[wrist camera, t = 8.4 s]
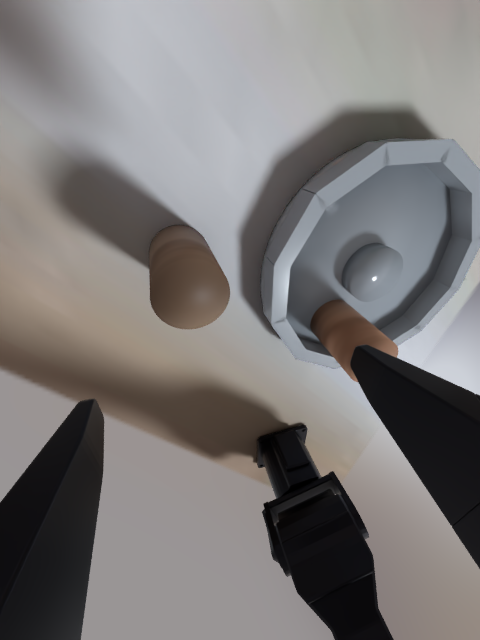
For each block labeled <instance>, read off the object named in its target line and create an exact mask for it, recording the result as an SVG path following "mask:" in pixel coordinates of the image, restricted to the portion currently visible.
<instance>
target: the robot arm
mask: <svg viewBox="0 0 480 640" xmlns="http://www.w3.org/2000/svg"><path fill="white" fill-rule="evenodd" d="M350 366H351V369H352V371H353V373H354V375H355V377H356V378H357V380H358V382H359V384H360V386H361V388H362V390H363V392H364V393H365V395H366V397H367V399H368V401H369V402H370V404H371V406H372V407H373V409H374V410H375V412H376V413H377V415H378V416H379V418H380V419H381V421H382V422H383V424H384V425H385V427H386V428H387V430H388V431H389V433H390V434H391V436H392V437H393V439H394V440H395V442H396V443H397V445H398V446H399V448H400V449H401V451H402V452H403V454H404V455H405V457H406V458H407V460H408V461H409V463H410V464H411V466H412V467H413V469H414V470H415V472H416V473H417V475H418V476H419V478H420V479H421V481H422V483H423V484H424V486H425V487H426V489H427V490H428V492H429V493H430V494H431V496H432V498H433V499H434V500H435V502H436V503H437V505H438V507H439V508H440V509H441V511H442V513H443V514H444V516H445V517H446V518H447V520H448V522H449V523H450V525H452V528H453V529H454V531H455V532H456V534H457V535H458V537H459V538H460V540H461V541H462V543H463V544H464V545H465V547H466V549H467V550H468V552H469V553H470V555H471V556H472V558H473V559H474V561H475V562H476V564H477V565H478V567H479V568H480V395H477V394H474V393H473V392H471V391H468V390H466V389H464V388H462V387H460V386H457V385H455V384H453V383H451V382H449V381H446V380H444V379H442V378H440V377H437V376H435V375H433V374H431V373H429V372H426V371H424V370H422V369H420V368H418V367H416V366H413V365H411V364H409V363H407V362H405V361H402V360H400V359H398V358H396V357H394V356H391V355H389V354H387V353H385V352H383V351H380V350H378V349H376V348H374V347H372V346H369V345H366V344H364V345H359V346H356V347H355V349H354V351H353V354H352V357H351V360H350ZM306 434H307V427H306V425H302V426H298V427H295V428H291V429H288V430H284V431H280V432H277V433H273V434H270V435H266V436H262V437H260V438H258V440H257V465H258V468H262V467H265V468H266V471H267V474H268V476H269V479H270V482H271V485H272V488H273V491H274V493H275V496H276V499H275V500H273V501H270V502H266V503H264V508H265V509H264V510H263V511H262V513H263V517H264V520H265V523H266V527H267V531H268V536H269V542H270V548H271V554H272V557H273V560H275V561H276V562H278V563H279V564H280V566H281V568H282V569H283V571H284V573H285V575H286V576H287V577H288V576H290V575H291V576H292V579H293V582H294V585H295V588H296V590H297V592H298V594H299V595H300V596H301V597H302V599H303V600H304V601H305V602H306V603H307V604H308V605H309V606H310V607H311V609H312V610H313V611H314V612H315V613H316V614H317V615H318V616H319V618H320V619H321V620H322V621H323V622H324V623H325V624H326V625H327V626H328V628H329V629H330V630H331V631H332V633H333V636H334V639H335V640H393V638H392V636H391V634H390V632H389V630H388V627H387V626H386V624H385V621H384V619H383V618H382V615H381V613H380V611H379V609H378V602H377V592H376V581H375V571H374V560H373V555H372V553H371V551H370V549H369V547H368V545H367V543H366V541H365V539H367V538H368V537H369V534H368V532H367V529H366V527H365V525H364V523H363V521H362V519H361V517H360V515H359V513H358V512H357V510H356V508H355V506H354V505H353V503H352V501H351V500H350V498H349V496H348V495H347V493H346V491H345V490H344V488H343V486H342V485H341V483H340V481H339V480H338V478H337V477H336V475H335V473H334V472H333V471H332V472H330V473H329V474H328V475H326V476H323V477H321V475H320V473H319V471H318V469H317V467H316V465H315V464H314V462H313V460H312V458H311V456H310V454H309V452H308V450H307V448H306V446H305V440H306ZM103 458H104V417H103V414H102V412H101V409H100V407H99V405H98V403H97V401H96V400H95V399H88V400H83V401H80V402H79V403H78V404H77V405H76V406H75V408H74V409H73V410H72V411H71V413H70V414H69V415H68V417H67V418H66V419H65V421H64V422H63V423H62V424H61V426H60V427H59V428H58V429H57V431H56V432H55V433H54V434H53V436H52V437H51V438H50V440H49V441H48V442H47V443H46V445H45V446H44V447H43V449H42V450H41V451H40V453H39V454H38V455H37V456H36V458H35V459H34V460H33V462H32V463H31V464H30V465H29V466H28V468H27V469H26V470H25V472H24V473H23V474H22V476H21V477H20V478H19V479H18V481H17V482H16V483H15V485H14V486H13V487H12V489H11V490H10V491H9V492H8V493H7V495H6V496H5V497H4V498H3V500H2V501H1V502H0V640H81V633H82V625H83V618H84V610H85V603H86V596H87V588H88V581H89V574H90V566H91V559H92V552H93V544H94V537H95V530H96V522H97V515H98V508H99V500H100V493H101V485H102V477H103ZM335 494H336V495H335Z"/></svg>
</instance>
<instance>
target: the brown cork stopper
mask: <svg viewBox="0 0 480 640" xmlns="http://www.w3.org/2000/svg"><path fill="white" fill-rule="evenodd" d="M310 327H311V330H312V332H313V333H314V335H315V336H316V337H317V338H318V339H319V341H320V342H321V343H322V344H323V345H324V346H325V348H326V349H327V350H328V351H329V352H330V354H331V355H332V356H333V357H334V358H335V360H336V361H337V362H338V363H339V364H340V366H341V367H342V368H343V369H344V370H345V371H346V373H347V374H348V375H349V376H350V377H351V379H352V380H354V381H356V382H358V380H357V378H356V377H355V375H354V373H353V371H352V369H351V366H350V360H351V357H352V354H353V351H354V349H355V347H356V346H359V345H364V344H366V345H369V346H372V347H374V348H376V349H378V350H380V351H383V352H385V353H387V354H389V355H391V356H394V357H396V358H397V355H398V347H397V345H396V344H395V343H394V342H393V341H392V340H390V339H389V338H388V337H387V336H386V335H385V334H383V333H382V332H381V331H380V330H379V329H377V328H376V327H375V326H374V325H373V324H371V323H370V322H369V321H368V320H367V319H365V318H364V317H363V316H362V315H361V314H359V313H358V312H357V311H356V310H355V309H354V308H352V307H351V306H350V305H349V304H348V303H346V302H345V301H343V300H332V301H329V302H327V303H325V304H323V305H322V306H321V307H320V308H318V310H317V311H316V312H315V313H314V315H313V317H312V319H311V323H310Z"/></svg>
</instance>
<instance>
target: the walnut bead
mask: <svg viewBox="0 0 480 640" xmlns="http://www.w3.org/2000/svg"><path fill="white" fill-rule="evenodd" d="M149 269H150V301H151V305H152V308H153V310H154V312H155V313H156V315H157V316H158V317H159V318H160V319H161V320H162V321H163V322H165V323H167V324H168V325H170V326H173V327H176V328H180V329H196V328H201V327H203V326H206V325H208V324H210V323H212V322H213V321H215V320H216V319H217V318H218V317H219V316H220V315H221V314H222V313H223V312H224V310H225V308H226V307H227V304H228V301H229V297H230V288H229V283H228V281H227V278H226V276H225V275H224V273H223V271H222V269H221V267H220V266H219V264H218V262H217V260H216V258H215V257H214V255H213V253H212V251H211V249H210V248H209V246H208V244H207V242H206V240H205V239H204V237H203V236H202V235H201V234H200V233H199V232H198V231H196V230H195V229H193V228H191V227H188V226H184V225H173V226H169V227H166V228H164V229H163V230H161V231H160V232H158V233H157V234H156V236H155V237H154V238H153V240H152V242H151V245H150V249H149Z"/></svg>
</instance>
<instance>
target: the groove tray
mask: <svg viewBox="0 0 480 640" xmlns="http://www.w3.org/2000/svg"><path fill="white" fill-rule="evenodd" d="M479 248H480V169H479V168H478V167H477V166H476V165H475V163H474V162H473V161H472V160H471V159H470V158H469V156H468V155H467V154H466V153H465V152H464V150H463V149H462V148H461V147H460V146H459V145H458V143H457V142H456V141H455V140H453V139H403V138H391V139H384V140H377V141H369V142H366V143H364V144H363V145H361V146H358V147H356V148H354V149H352V150H350V151H348V152H346V153H344V154H342V155H341V156H339V157H337V158H336V159H334V160H333V161H331V162H330V163H328V164H327V165H326V166H324V167H323V168H322V169H321V170H320V171H318V172H317V173H316V174H315V175H314V176H313V177H312V178H311V179H310V180H309V181H308V182H307V183H306V184H305V185H304V186H303V187H302V188H301V189H300V190H299V191H298V193H297V194H296V195H295V196H294V198H293V199H292V200H291V202H290V203H289V204H288V205H287V207H286V209H285V210H284V212H283V214H282V215H281V217H280V218H279V220H278V222H277V224H276V226H275V228H274V230H273V232H272V234H271V237H270V239H269V242H268V245H267V248H266V251H265V254H264V259H263V263H262V268H261V279H260V289H261V299H262V304H263V312H264V314H265V316H266V317H267V319H268V320H269V322H270V324H271V326H272V327H273V329H274V330H275V332H276V333H277V334H278V335H279V336H280V338H281V339H282V341H283V342H284V343H285V345H286V346H287V348H288V349H289V350H290V352H291V353H292V355H293V356H294V358H295V359H298V360H301V361H305V362H309V363H313V364H317V365H321V366H325V367H328V368H332V369H335V368H340V367H341V366H340V364H339V363H338V362H337V361H336V360H335V358H334V357H333V356H332V355H331V354H330V352H329V351H328V350H327V349H326V348H325V346H324V345H323V344H322V343H321V342H320V341H319V339H318V338H317V337H316V336H315V335H314V333H313V332H312V330H311V327H310V323H311V319H312V317H313V315H314V313H315V312H316V311H317V310H318V308H320V307H321V306H322V305H323V304H325V303H327V302H329V301H332V300H343V301H345V302H346V303H348V304H349V305H350V306H351V307H352V308H354V309H355V310H356V311H357V312H358V313H359V314H361V315H362V316H363V317H364V318H365V319H367V320H368V321H369V322H370V323H371V324H373V325H374V326H375V327H376V328H377V329H379V330H380V331H381V332H382V333H383V334H385V335H386V336H387V337H388V338H389V339H390V340H392V341H393V342H394V343H395V344H396V345H397V346H398V345H400V344H401V343H403V342H405V341H406V340H408V339H409V338H411V337H413V336H414V335H416V334H417V333H419V332H420V331H422V330H423V328H424V327H425V326H426V325H427V324H428V323H429V322H430V321H431V320H432V319H433V317H434V316H435V315H436V314H437V313H438V312H439V311H440V310H441V309H442V308H443V306H444V305H445V304H446V303H447V302H448V301H449V300H450V299H451V298H452V297H453V296H454V294H455V293H456V292H457V291H458V290H459V289H460V287H461V285H462V283H463V281H464V279H465V276H466V274H467V272H468V270H469V268H470V266H471V264H472V262H473V260H474V258H475V256H476V254H477V252H478V250H479Z"/></svg>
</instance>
